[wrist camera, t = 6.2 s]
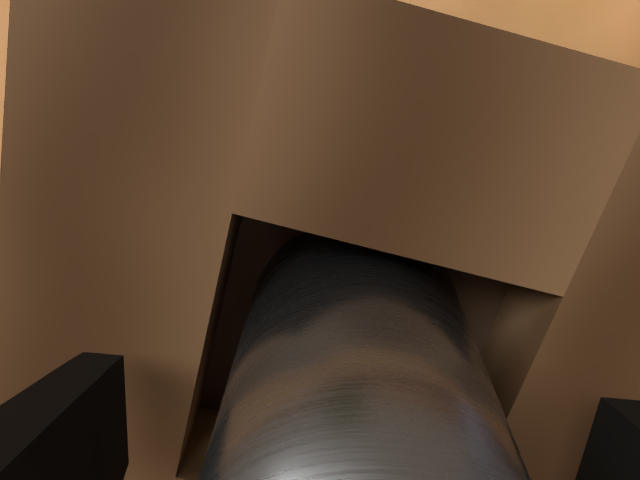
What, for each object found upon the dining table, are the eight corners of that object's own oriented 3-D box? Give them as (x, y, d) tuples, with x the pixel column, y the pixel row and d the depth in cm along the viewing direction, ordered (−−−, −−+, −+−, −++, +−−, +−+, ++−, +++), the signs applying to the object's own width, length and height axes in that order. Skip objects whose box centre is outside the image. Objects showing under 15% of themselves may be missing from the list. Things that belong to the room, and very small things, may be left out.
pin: (479, 237, 11) (683, 582, 4) (431, 413, 12) (531, 861, 6) (263, 204, 11) (152, 507, 4) (241, 386, 12) (134, 813, 6)
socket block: (774, 110, 10) (898, 141, 8) (519, 580, 15) (552, 688, 13) (94, -81, 10) (16, -107, 7) (36, 475, 14) (-23, 569, 12)
